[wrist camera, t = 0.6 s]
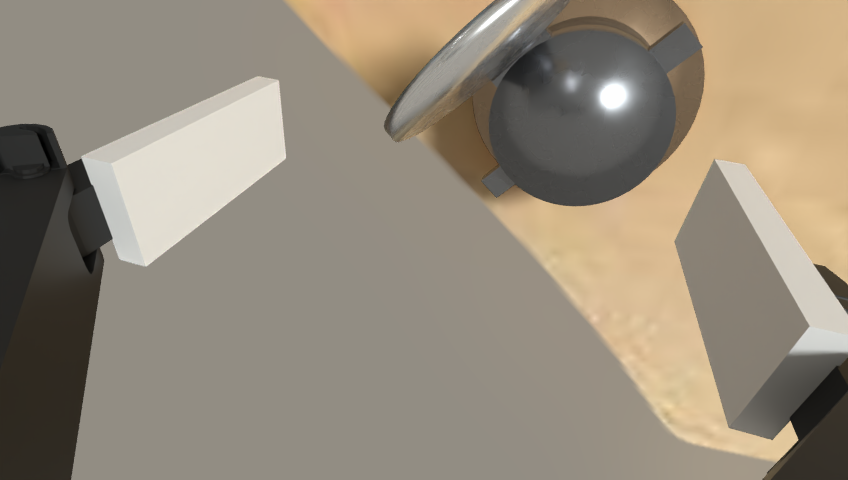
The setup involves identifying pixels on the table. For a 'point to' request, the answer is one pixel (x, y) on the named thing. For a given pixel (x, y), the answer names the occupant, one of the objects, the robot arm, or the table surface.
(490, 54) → the lid
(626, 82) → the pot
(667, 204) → the table surface
